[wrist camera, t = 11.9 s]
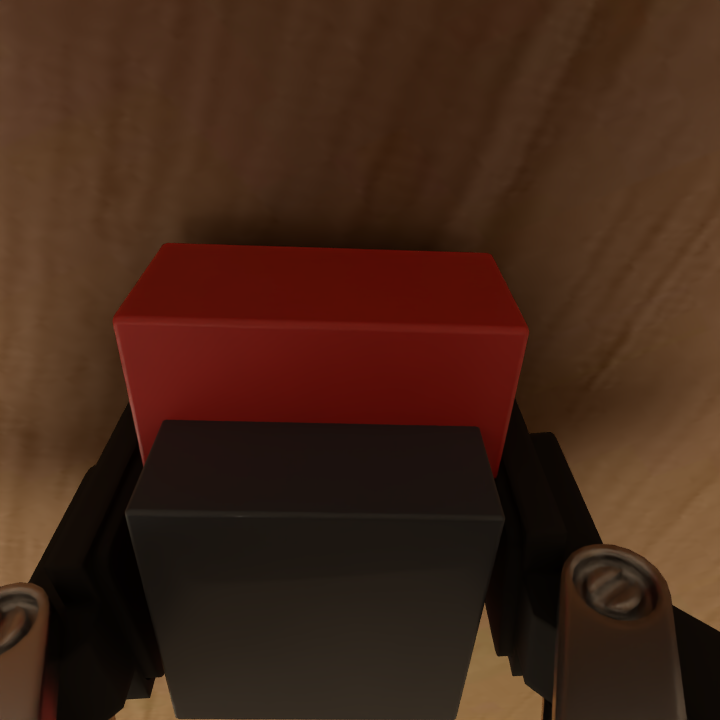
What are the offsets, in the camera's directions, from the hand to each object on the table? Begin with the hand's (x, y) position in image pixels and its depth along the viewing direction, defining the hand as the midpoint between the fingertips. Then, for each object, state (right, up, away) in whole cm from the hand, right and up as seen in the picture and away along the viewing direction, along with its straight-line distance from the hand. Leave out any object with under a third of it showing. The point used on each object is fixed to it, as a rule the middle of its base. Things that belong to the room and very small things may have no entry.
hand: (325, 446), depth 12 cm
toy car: (+3, -1, -2) cm, 3 cm away
